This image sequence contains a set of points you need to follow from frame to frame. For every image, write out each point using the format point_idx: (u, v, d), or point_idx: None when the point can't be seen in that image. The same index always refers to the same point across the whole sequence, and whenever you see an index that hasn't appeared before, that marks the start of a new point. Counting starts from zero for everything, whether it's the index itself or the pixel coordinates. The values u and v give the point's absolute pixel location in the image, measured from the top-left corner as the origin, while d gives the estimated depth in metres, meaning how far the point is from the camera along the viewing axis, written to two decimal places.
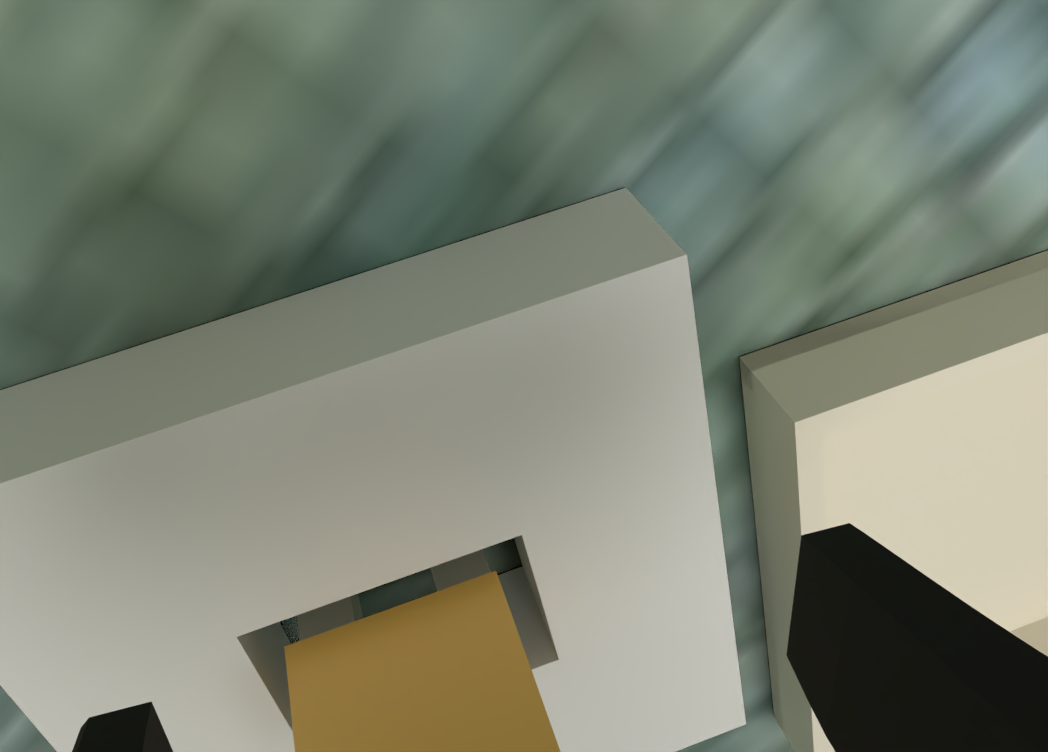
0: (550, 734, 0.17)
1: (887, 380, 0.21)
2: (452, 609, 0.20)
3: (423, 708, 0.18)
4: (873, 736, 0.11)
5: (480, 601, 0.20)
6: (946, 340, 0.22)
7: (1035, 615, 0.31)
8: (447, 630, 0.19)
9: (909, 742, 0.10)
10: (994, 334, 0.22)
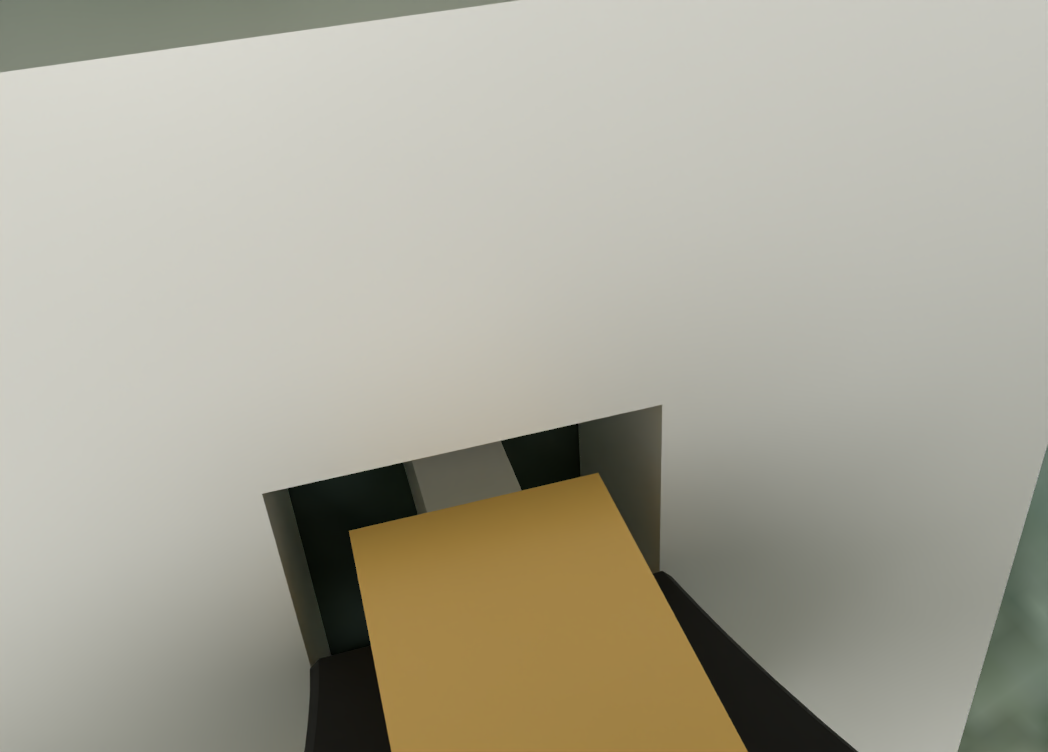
0: None
1: None
2: None
3: None
4: None
5: None
6: None
7: None
8: None
9: None
10: None
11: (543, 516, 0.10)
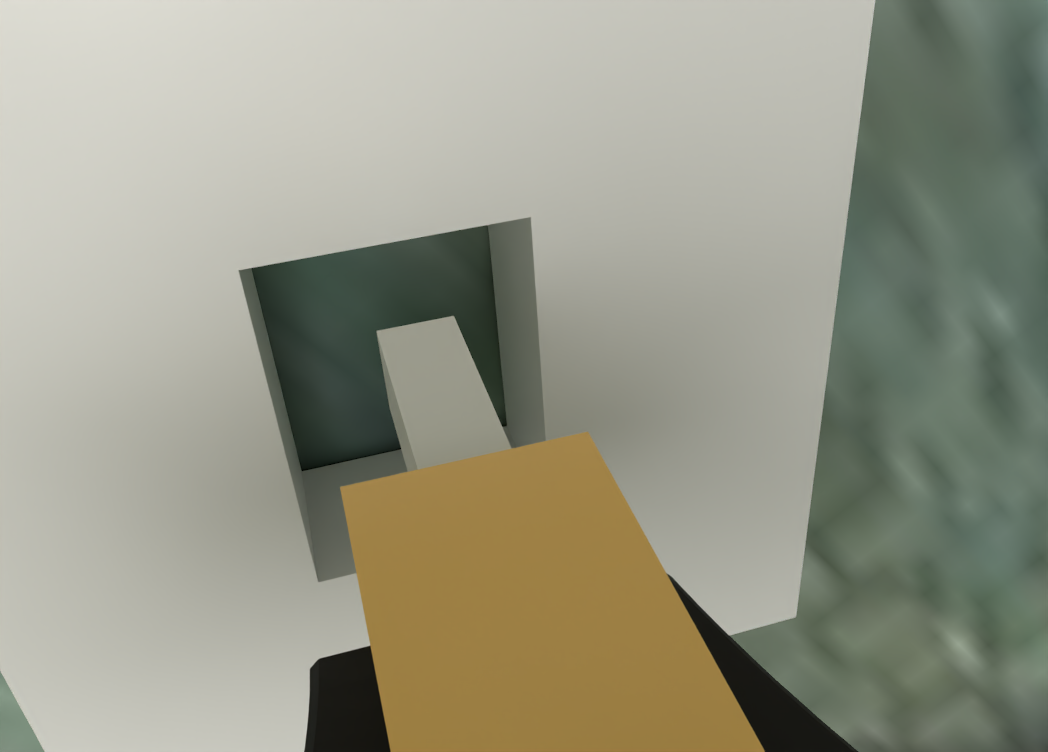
0: None
1: None
2: None
3: None
4: None
5: None
6: None
7: None
8: None
9: None
10: None
11: (533, 472, 0.10)
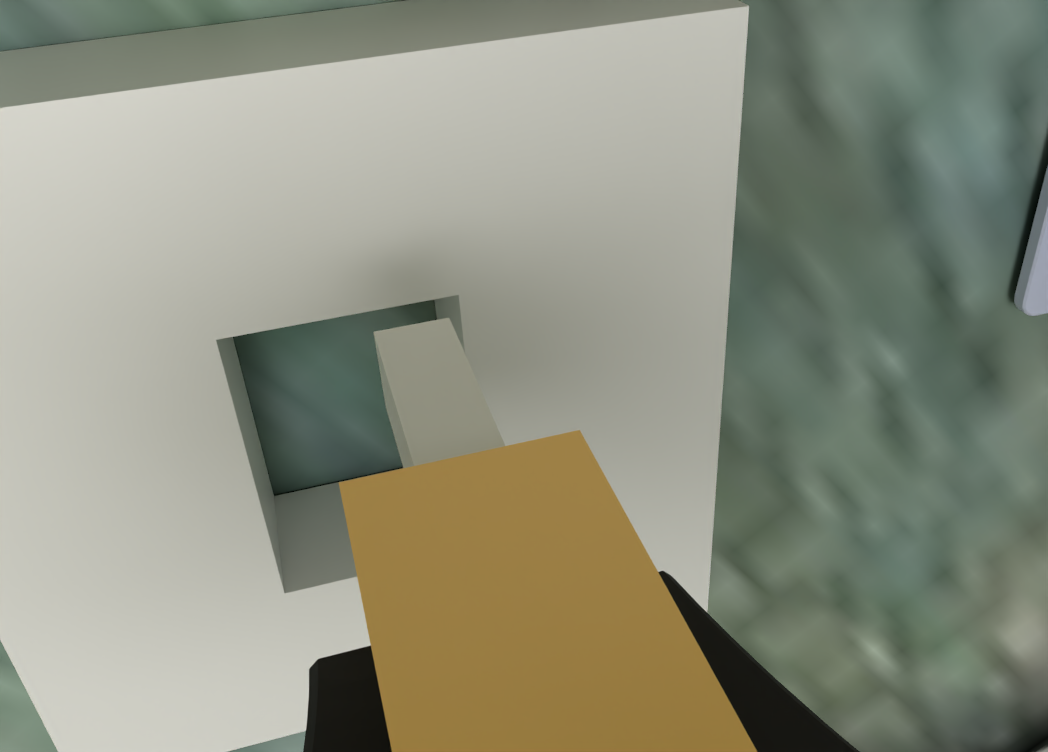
0: None
1: None
2: None
3: None
4: None
5: None
6: None
7: None
8: None
9: None
10: None
11: (526, 469, 0.10)
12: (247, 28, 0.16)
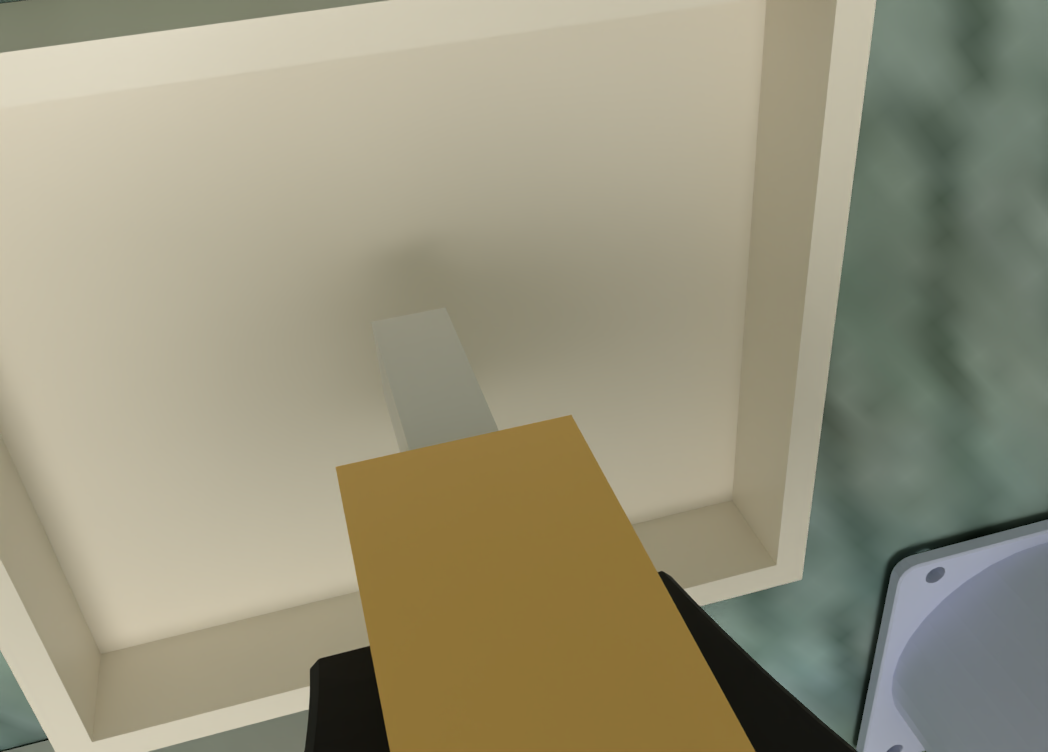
0: None
1: None
2: None
3: None
4: None
5: None
6: None
7: (739, 142, 0.17)
8: None
9: None
10: None
11: (518, 452, 0.11)
12: None
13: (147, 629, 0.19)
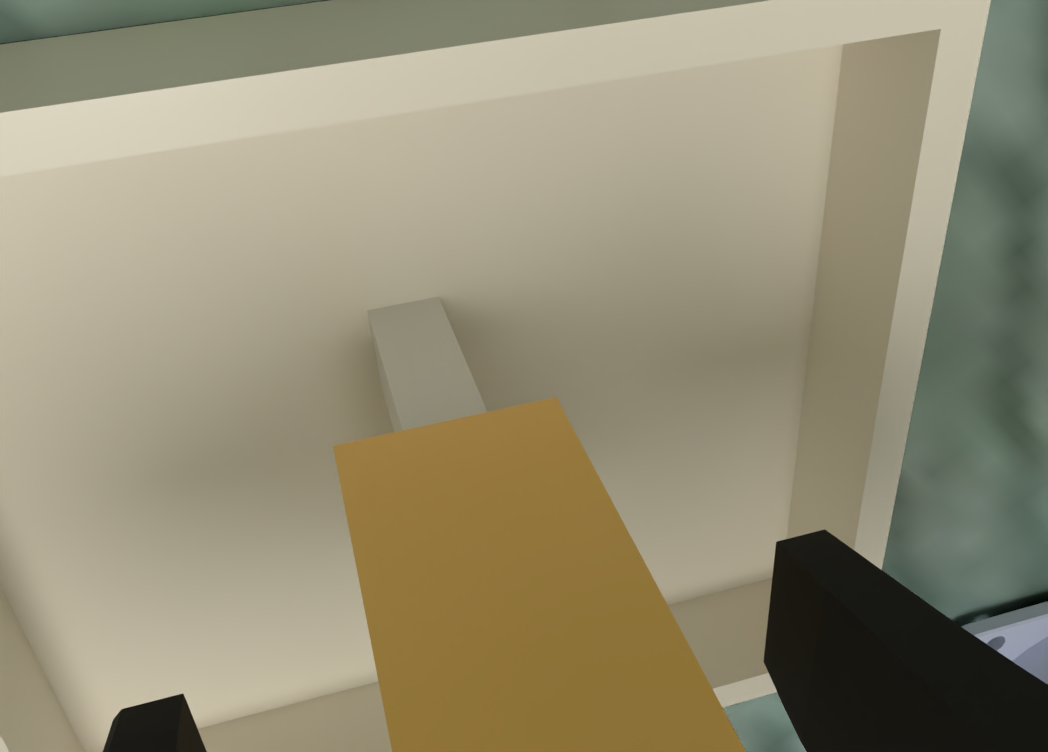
0: (392, 746, 0.08)
1: None
2: None
3: None
4: (847, 744, 0.11)
5: None
6: None
7: (807, 194, 0.15)
8: None
9: (881, 751, 0.10)
10: None
11: (505, 432, 0.11)
12: None
13: None
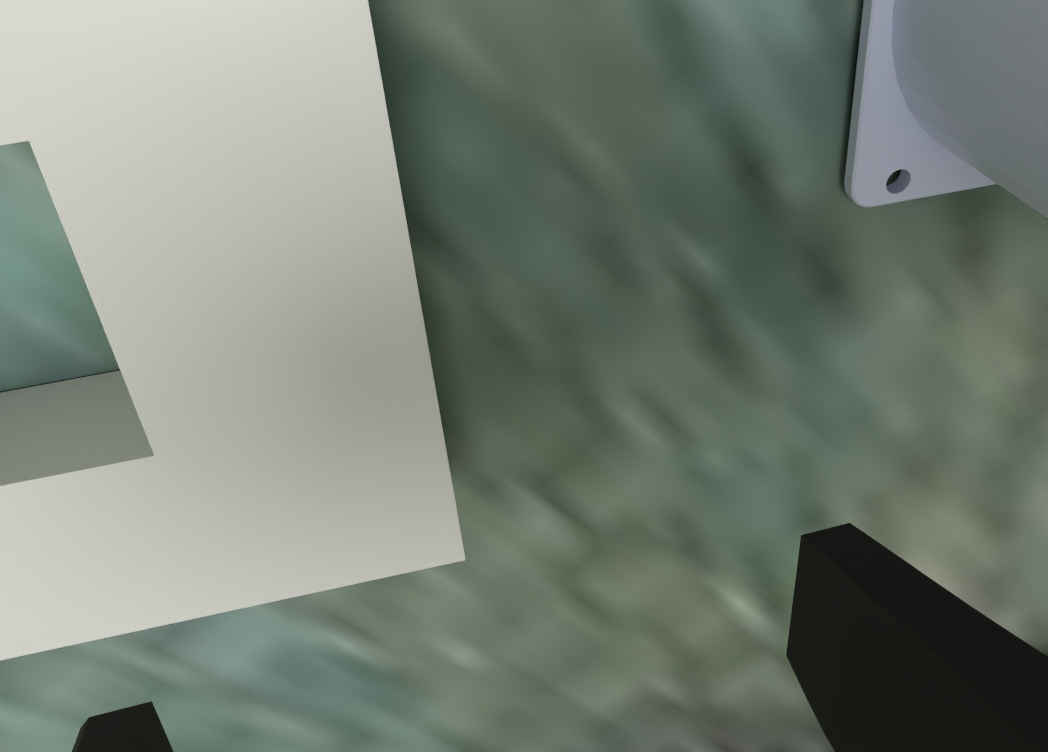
0: None
1: None
2: None
3: None
4: (873, 736, 0.11)
5: None
6: None
7: None
8: None
9: (909, 742, 0.10)
10: None
11: None
12: None
13: None
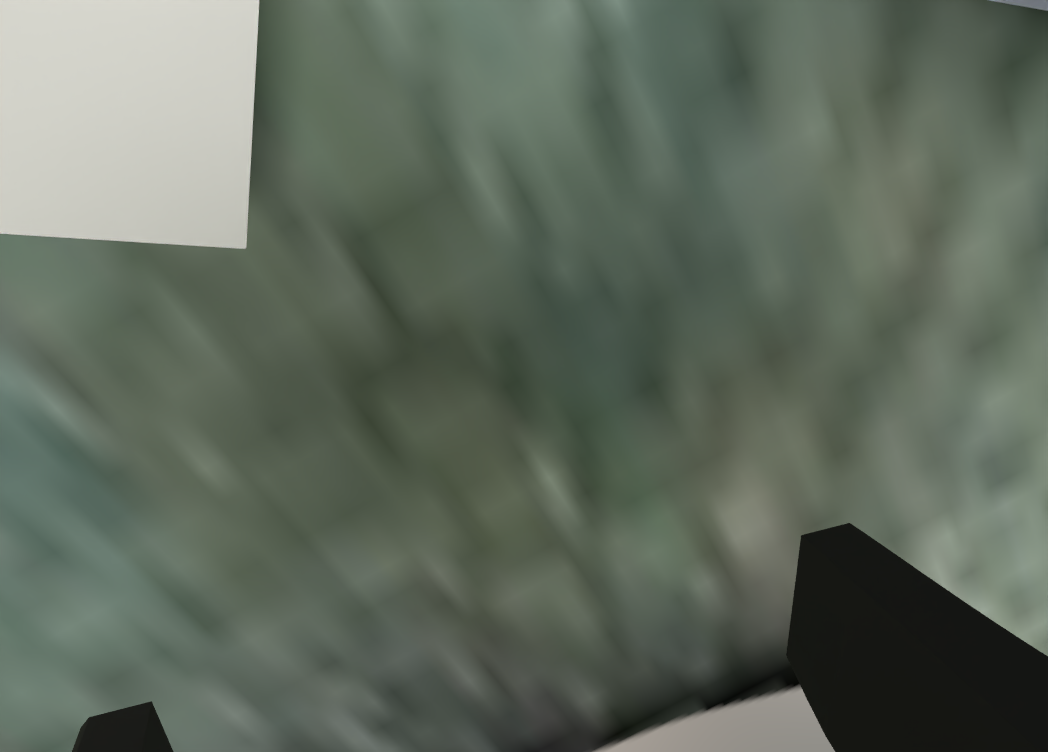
0: None
1: None
2: None
3: None
4: (873, 736, 0.11)
5: None
6: None
7: None
8: None
9: (909, 742, 0.10)
10: None
11: None
12: None
13: None
